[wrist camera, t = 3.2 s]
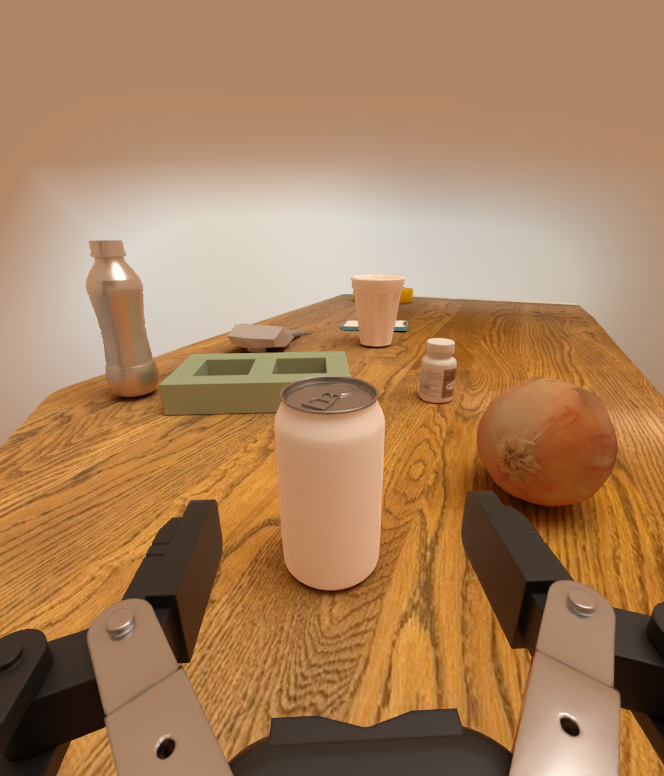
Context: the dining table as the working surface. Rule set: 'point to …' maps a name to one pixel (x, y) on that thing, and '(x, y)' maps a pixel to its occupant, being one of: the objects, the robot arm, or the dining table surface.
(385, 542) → the dining table surface
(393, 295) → the cup
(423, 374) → the pill bottle
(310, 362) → the holder
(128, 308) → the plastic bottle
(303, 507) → the can
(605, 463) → the onion
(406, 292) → the element tile
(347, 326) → the smartphone
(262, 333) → the turret
